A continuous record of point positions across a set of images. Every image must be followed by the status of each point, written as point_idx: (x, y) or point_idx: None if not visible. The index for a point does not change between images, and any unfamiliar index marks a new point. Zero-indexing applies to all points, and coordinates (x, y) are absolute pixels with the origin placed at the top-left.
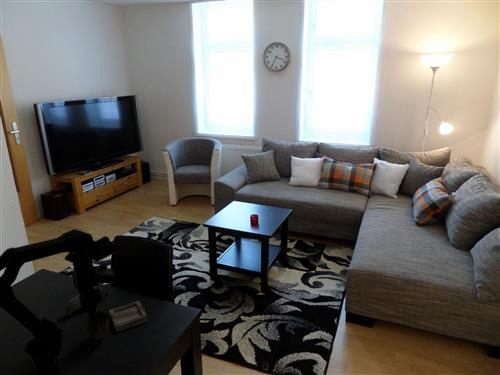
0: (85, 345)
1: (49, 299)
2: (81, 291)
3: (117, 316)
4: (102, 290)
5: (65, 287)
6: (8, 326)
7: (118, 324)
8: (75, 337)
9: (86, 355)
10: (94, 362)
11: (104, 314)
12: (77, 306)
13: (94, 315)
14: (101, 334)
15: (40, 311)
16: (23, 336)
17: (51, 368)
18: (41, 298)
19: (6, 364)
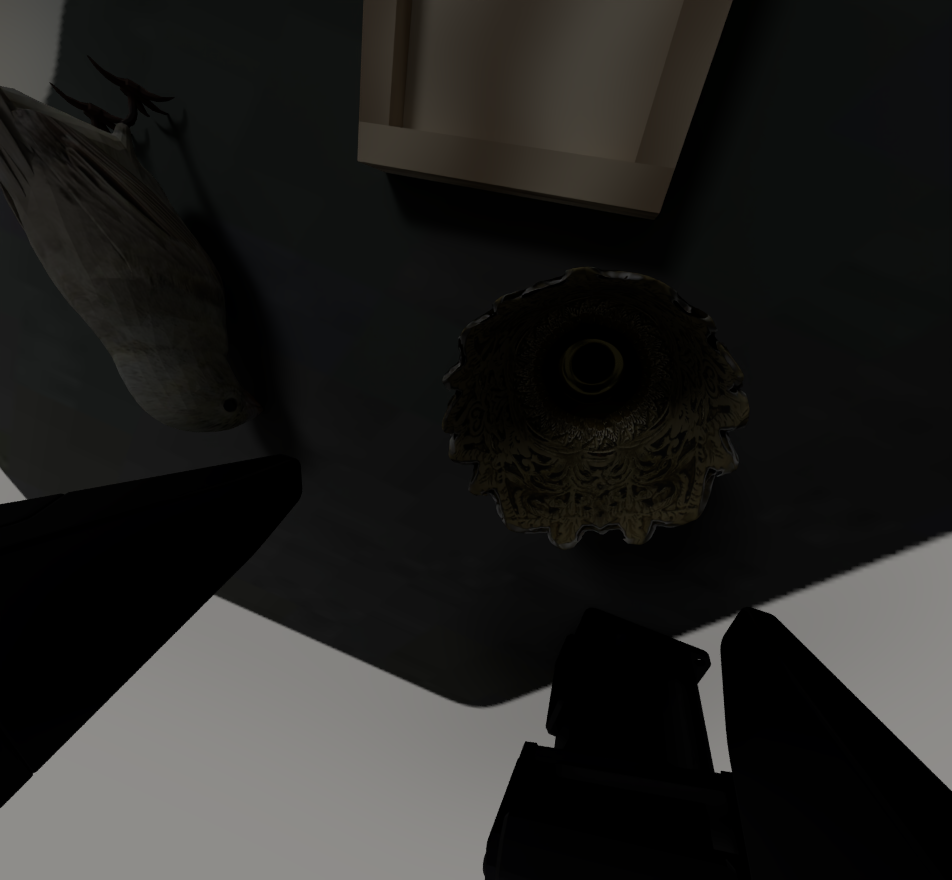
0: None
1: (103, 418)
2: (60, 694)
3: (474, 117)
4: (76, 106)
5: (19, 314)
6: (231, 594)
7: (641, 166)
8: None
9: None
10: (833, 508)
11: (535, 295)
12: (216, 367)
13: (787, 639)
14: (678, 389)
15: None
16: (318, 595)
17: (703, 723)
18: (89, 439)
19: (449, 696)
